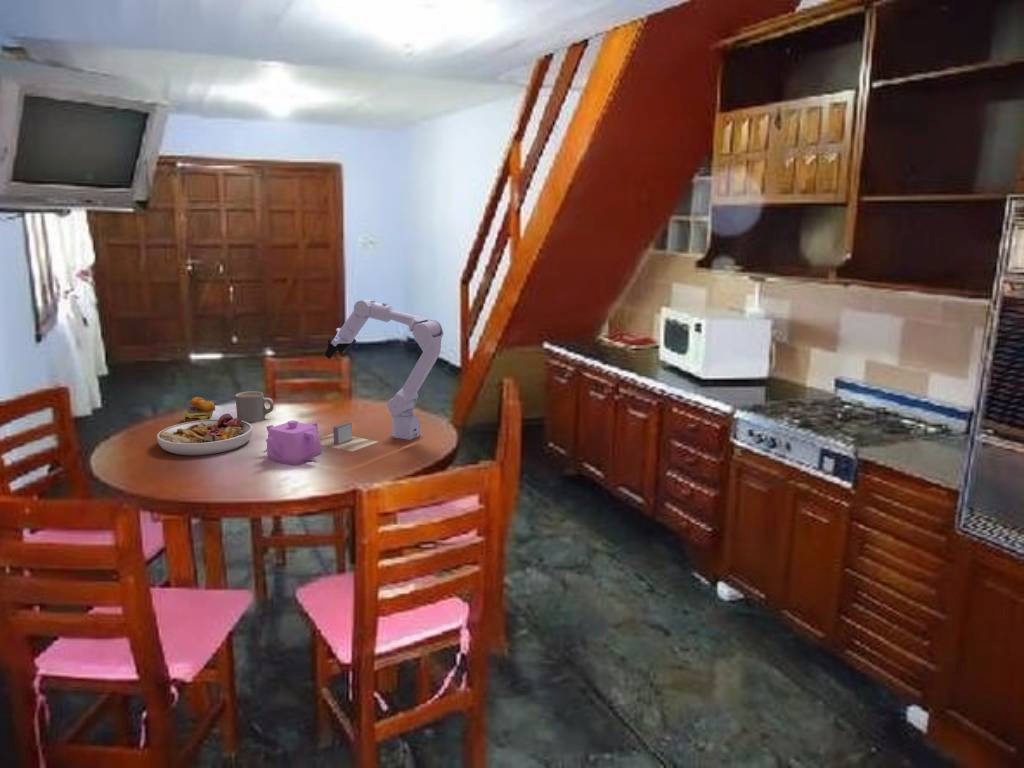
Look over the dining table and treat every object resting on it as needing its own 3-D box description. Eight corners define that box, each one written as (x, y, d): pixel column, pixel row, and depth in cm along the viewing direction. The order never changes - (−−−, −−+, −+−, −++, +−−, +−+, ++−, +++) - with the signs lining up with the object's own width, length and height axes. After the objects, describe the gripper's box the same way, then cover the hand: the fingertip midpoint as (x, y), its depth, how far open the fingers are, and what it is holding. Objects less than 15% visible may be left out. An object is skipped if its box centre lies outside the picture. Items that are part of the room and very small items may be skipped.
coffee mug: (233, 423, 280) (231, 397, 277) (241, 416, 289) (240, 391, 287) (270, 423, 280) (268, 397, 278) (276, 416, 290) (275, 391, 288)
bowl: (221, 461, 237) (219, 437, 235) (138, 455, 243) (135, 431, 241) (269, 435, 266) (268, 413, 264) (194, 429, 271) (192, 409, 270)
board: (378, 445, 254) (378, 441, 254) (352, 455, 243) (351, 451, 243) (335, 435, 264) (335, 432, 264) (308, 445, 254) (308, 441, 253)
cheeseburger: (181, 418, 285) (186, 393, 284) (211, 422, 290) (215, 397, 289) (182, 424, 276) (187, 398, 275) (213, 428, 281) (217, 402, 280)
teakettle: (322, 464, 235) (320, 426, 232) (265, 468, 230) (263, 430, 227) (321, 448, 251) (319, 412, 248) (268, 452, 246) (265, 416, 243)
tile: (352, 439, 256) (352, 422, 255) (338, 444, 250) (337, 427, 249) (348, 438, 257) (347, 422, 256) (334, 443, 251) (333, 426, 250)
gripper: (353, 314, 268) (335, 341, 274) (333, 323, 255) (313, 351, 261) (368, 327, 268) (349, 354, 274) (348, 337, 255) (328, 365, 260)
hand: (332, 353), depth 267 cm, fingers open, 7 cm apart
